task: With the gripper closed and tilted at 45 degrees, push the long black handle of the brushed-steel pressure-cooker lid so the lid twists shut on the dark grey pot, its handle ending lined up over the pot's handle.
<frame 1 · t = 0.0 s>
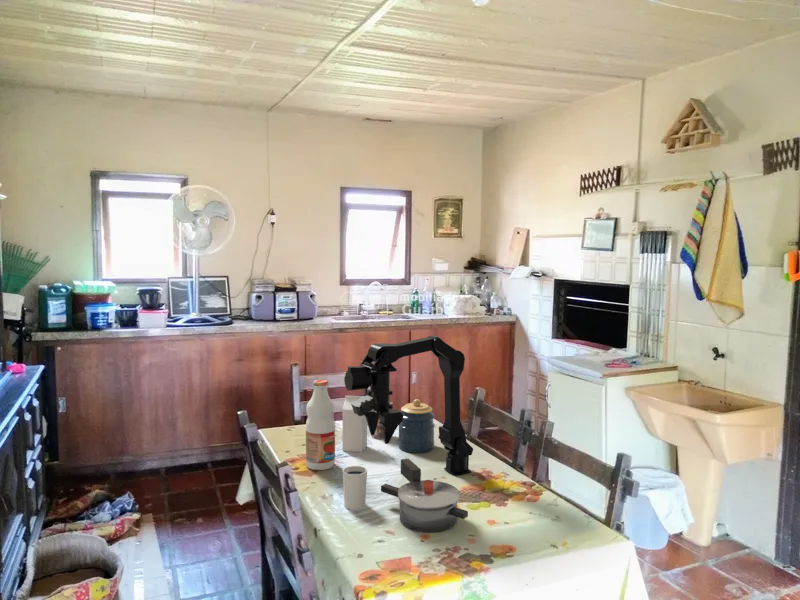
hand: (379, 439, 176), 15 cm above the table, tool pointing down, fingers open, 9 cm apart
lid: (421, 482, 160), point 8 cm above the table, hinge at -30.0°
canister: (416, 448, 213), on the table
white cup: (354, 506, 164), on the table
mortar and pestle: (379, 435, 227), on the table
pot: (428, 519, 156), on the table
milk carton: (354, 449, 211), on the table
fruit juice: (320, 466, 194), on the table
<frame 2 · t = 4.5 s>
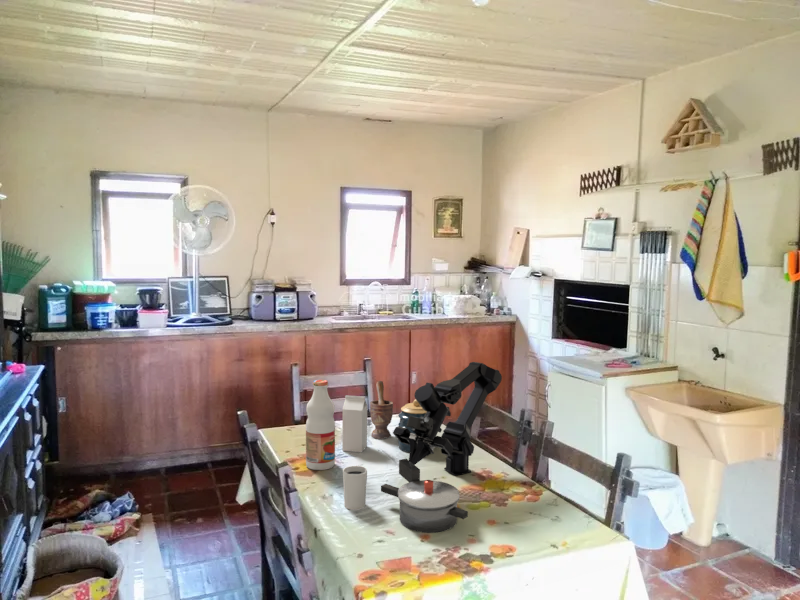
hand: (409, 466, 170), 9 cm above the table, tool tilted 45°, fingers closed
lid: (421, 482, 159), point 8 cm above the table, hinge at -28.2°
everything else where it was.
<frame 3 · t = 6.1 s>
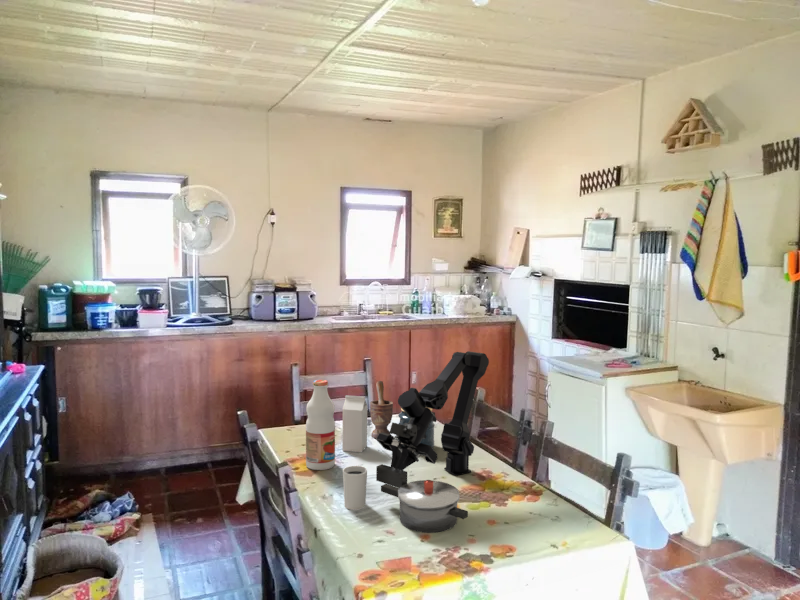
hand: (392, 474, 165), 8 cm above the table, tool tilted 45°, fingers closed, pressing on lid
lid: (414, 484, 158), point 8 cm above the table, hinge at 0.0°, touching gripper
everything else where it was.
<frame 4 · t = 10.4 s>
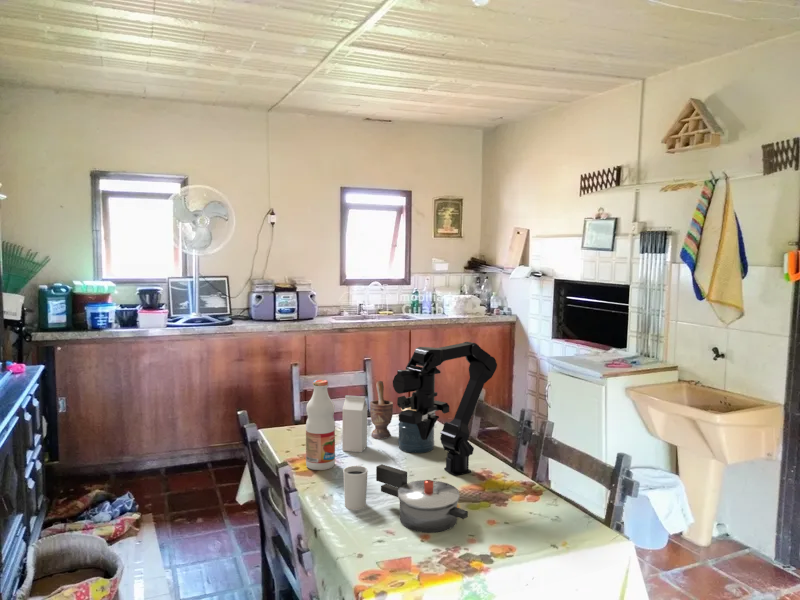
hand: (424, 439, 181), 13 cm above the table, tool pointing down, fingers closed
lid: (414, 484, 158), point 8 cm above the table, hinge at 0.3°
everything else where it was.
at the end: lid at +0° (first picture: -30°) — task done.
